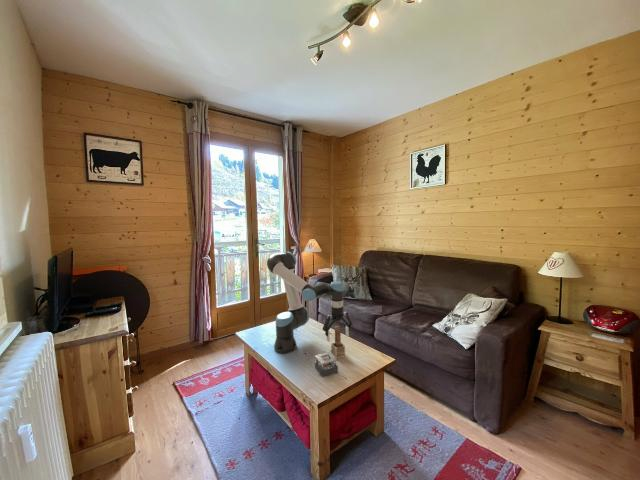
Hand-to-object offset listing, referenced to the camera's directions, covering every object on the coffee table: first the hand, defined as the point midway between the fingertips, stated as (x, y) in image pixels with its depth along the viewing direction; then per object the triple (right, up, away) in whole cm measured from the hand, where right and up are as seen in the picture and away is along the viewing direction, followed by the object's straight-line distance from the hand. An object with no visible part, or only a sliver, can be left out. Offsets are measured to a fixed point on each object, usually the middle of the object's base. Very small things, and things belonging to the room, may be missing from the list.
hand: (337, 338), depth 173 cm
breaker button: (-8, -11, -16) cm, 21 cm away
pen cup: (0, -11, +1) cm, 11 cm away
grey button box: (-8, -13, -15) cm, 21 cm away
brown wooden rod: (0, -10, +1) cm, 10 cm away
